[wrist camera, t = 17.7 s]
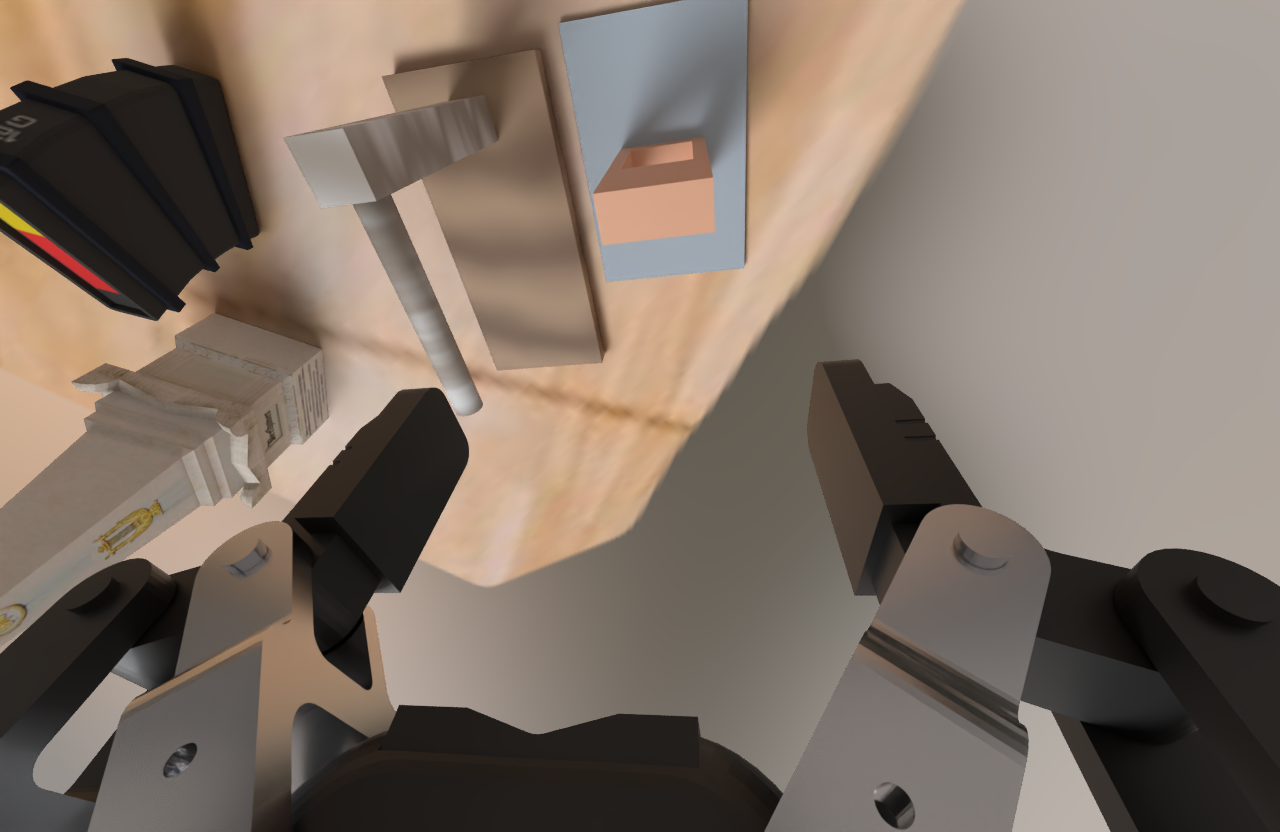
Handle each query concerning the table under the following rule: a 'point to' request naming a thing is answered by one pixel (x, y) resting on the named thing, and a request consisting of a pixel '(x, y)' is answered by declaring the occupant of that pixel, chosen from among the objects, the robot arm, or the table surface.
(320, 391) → the miniature monument
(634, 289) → the table surface
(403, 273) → the stand
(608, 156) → the mat
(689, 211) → the salmon hollow block
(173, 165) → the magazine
